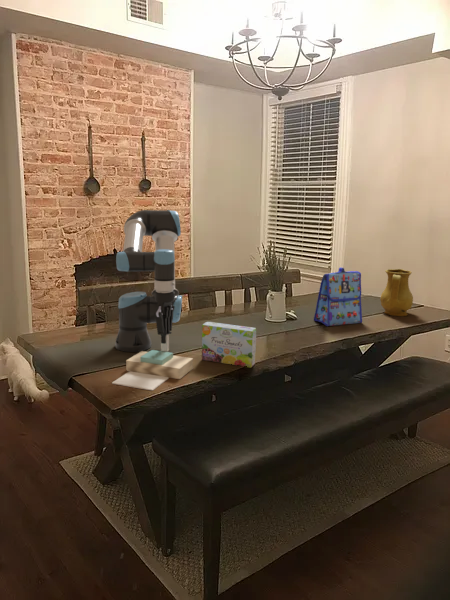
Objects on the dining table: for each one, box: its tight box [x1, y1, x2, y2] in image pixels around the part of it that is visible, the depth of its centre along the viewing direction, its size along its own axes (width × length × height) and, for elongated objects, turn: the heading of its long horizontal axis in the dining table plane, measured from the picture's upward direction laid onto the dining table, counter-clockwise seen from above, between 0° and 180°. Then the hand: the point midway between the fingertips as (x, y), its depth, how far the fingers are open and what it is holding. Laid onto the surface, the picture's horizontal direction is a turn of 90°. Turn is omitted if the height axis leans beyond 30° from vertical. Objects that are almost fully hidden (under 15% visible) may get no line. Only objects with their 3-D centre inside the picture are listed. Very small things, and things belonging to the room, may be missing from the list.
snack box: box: [201, 321, 257, 368], centre depth 199 cm, size 21×6×15 cm, turn 69°
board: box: [125, 350, 194, 380], centre depth 191 cm, size 22×12×4 cm, turn 70°
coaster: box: [140, 349, 174, 365], centre depth 190 cm, size 9×9×2 cm
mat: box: [111, 371, 169, 391], centre depth 180 cm, size 16×12×1 cm
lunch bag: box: [313, 267, 363, 327], centre depth 261 cm, size 22×14×29 cm, turn 114°
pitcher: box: [379, 268, 414, 317], centre depth 281 cm, size 17×19×25 cm
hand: (164, 350), depth 196 cm, fingers closed
